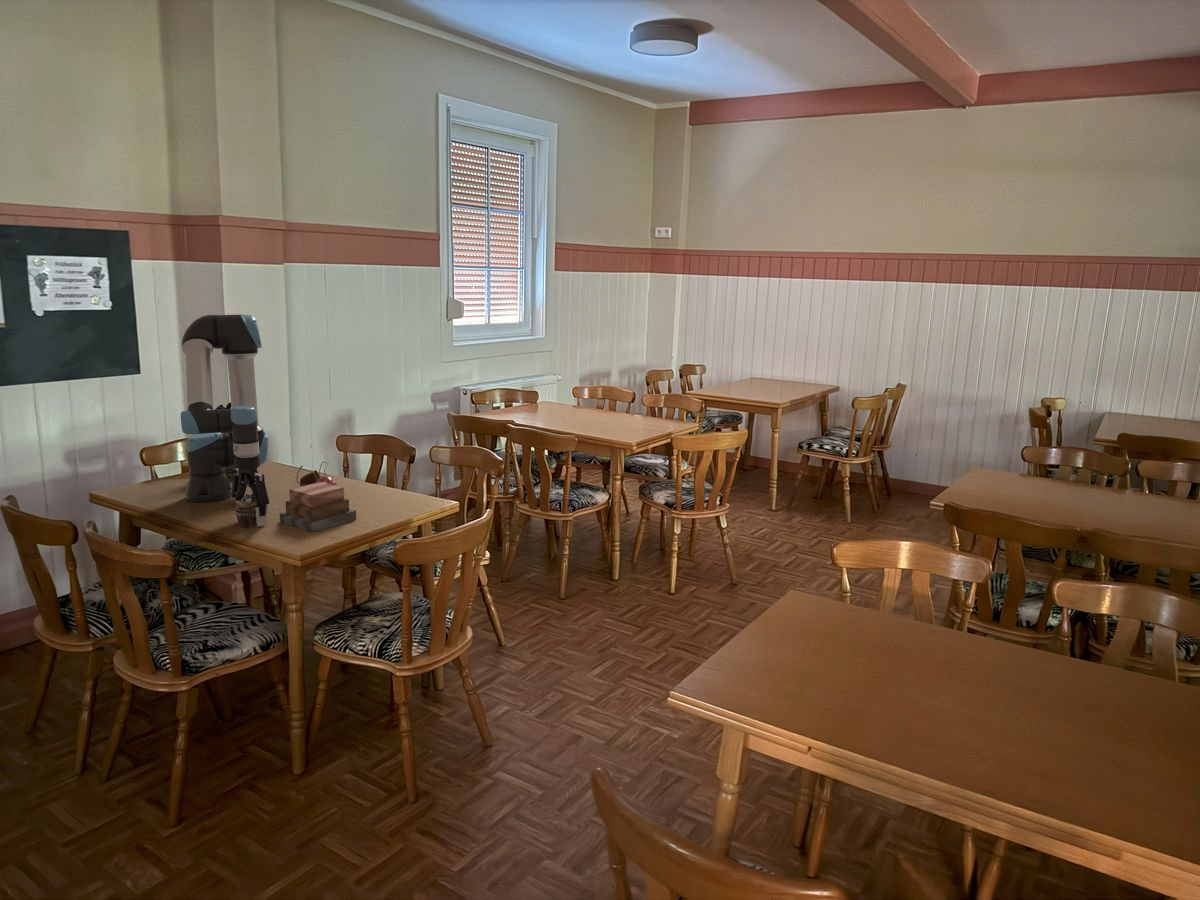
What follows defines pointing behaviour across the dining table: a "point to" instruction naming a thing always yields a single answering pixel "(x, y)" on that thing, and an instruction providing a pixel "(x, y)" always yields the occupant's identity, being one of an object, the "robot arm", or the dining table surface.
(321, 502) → the stepped pyramid block
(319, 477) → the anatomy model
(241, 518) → the cupcake
